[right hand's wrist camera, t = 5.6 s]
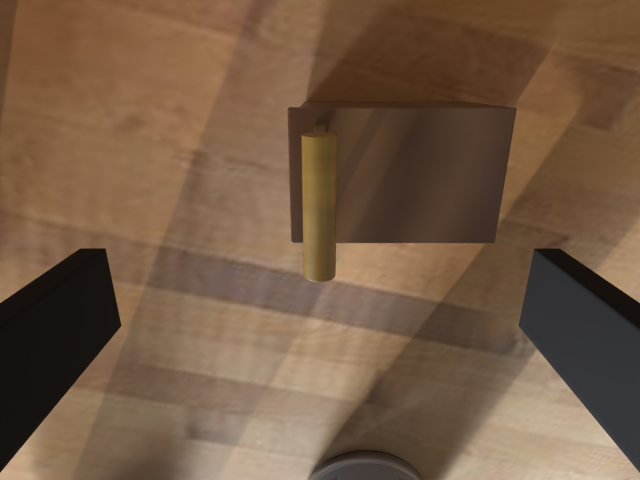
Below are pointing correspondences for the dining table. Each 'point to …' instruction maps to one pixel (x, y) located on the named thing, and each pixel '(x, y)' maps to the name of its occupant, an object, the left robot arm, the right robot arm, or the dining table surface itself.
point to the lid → (394, 177)
